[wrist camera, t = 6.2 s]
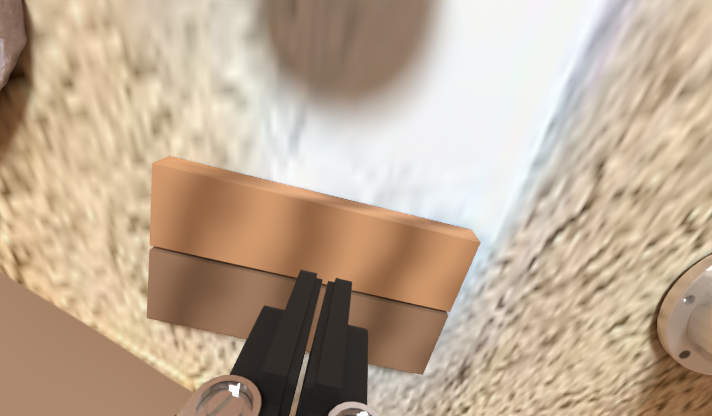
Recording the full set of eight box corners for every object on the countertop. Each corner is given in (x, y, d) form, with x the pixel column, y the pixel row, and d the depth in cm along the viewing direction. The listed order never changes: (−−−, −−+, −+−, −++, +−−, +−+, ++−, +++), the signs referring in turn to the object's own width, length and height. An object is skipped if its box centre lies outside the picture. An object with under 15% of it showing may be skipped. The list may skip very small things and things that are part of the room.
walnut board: (441, 299, 27) (447, 316, 25) (418, 355, 29) (422, 374, 27) (165, 237, 25) (149, 250, 24) (161, 301, 28) (146, 318, 26)
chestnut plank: (471, 229, 25) (480, 242, 23) (443, 295, 27) (449, 311, 25) (169, 156, 23) (152, 163, 21) (165, 232, 25) (149, 245, 23)
